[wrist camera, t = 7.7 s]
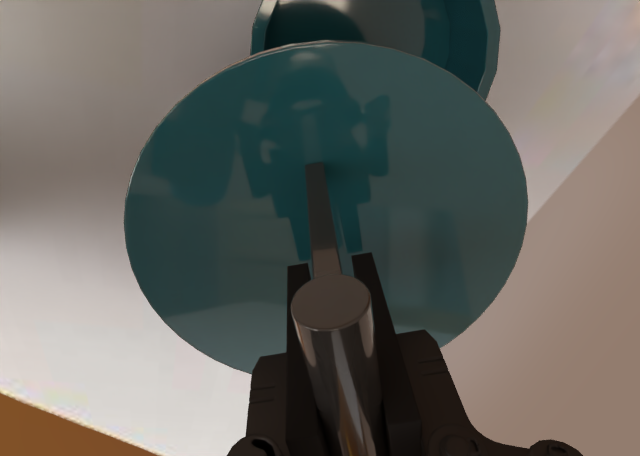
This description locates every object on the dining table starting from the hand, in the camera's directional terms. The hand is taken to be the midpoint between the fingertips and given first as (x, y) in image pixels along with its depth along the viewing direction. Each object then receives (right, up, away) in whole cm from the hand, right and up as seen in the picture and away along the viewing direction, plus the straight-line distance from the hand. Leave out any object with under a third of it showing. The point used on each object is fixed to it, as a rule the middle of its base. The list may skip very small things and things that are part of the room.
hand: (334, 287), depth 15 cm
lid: (0, +1, +2) cm, 3 cm away
